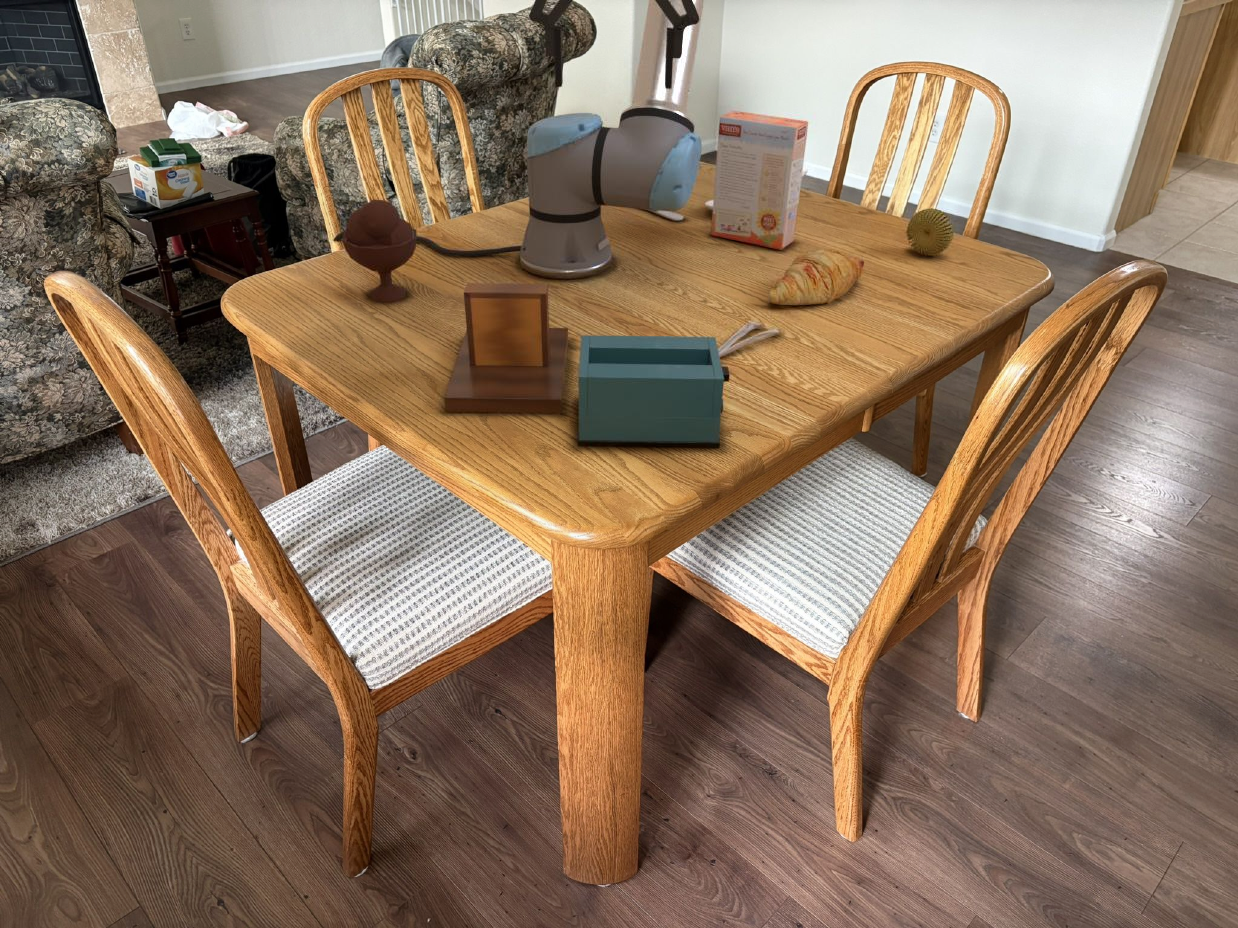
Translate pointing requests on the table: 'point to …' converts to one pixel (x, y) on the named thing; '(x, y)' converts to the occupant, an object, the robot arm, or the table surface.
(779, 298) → the croissant
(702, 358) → the toaster
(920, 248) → the sea urchin shell
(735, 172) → the cracker box
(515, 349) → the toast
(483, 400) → the bread board
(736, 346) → the tweezers
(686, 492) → the table surface
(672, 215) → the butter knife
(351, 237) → the ice cream bowl
